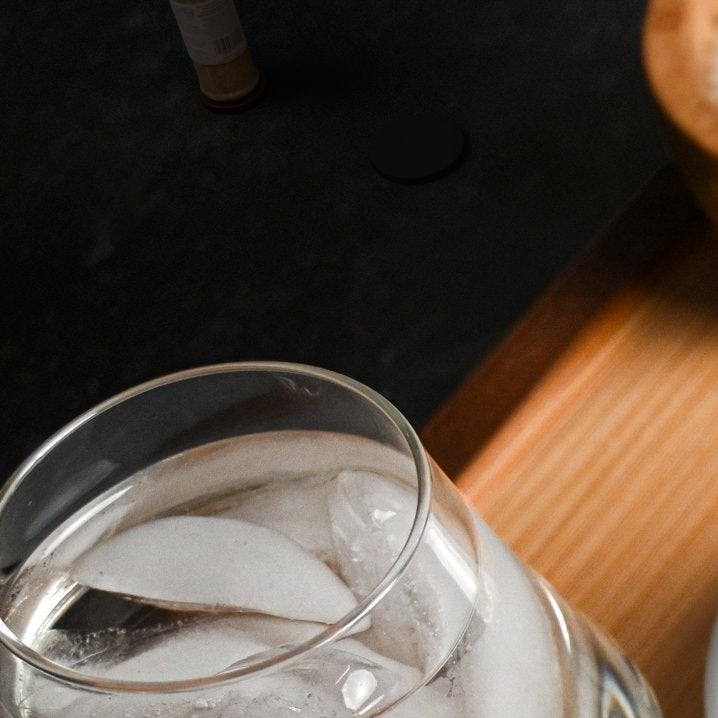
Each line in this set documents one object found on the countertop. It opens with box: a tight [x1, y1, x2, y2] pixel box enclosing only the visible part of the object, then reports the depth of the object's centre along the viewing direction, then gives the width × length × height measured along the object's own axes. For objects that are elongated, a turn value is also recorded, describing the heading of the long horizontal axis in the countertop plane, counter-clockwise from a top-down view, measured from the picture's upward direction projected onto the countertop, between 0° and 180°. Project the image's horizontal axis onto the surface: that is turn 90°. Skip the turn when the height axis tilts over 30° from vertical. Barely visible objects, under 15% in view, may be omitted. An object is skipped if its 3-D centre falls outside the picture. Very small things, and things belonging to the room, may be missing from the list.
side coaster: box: [368, 113, 467, 185], centre depth 141 cm, size 7×7×1 cm
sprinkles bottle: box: [168, 0, 259, 101], centre depth 140 cm, size 5×5×13 cm
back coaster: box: [197, 66, 269, 115], centre depth 146 cm, size 5×5×1 cm
